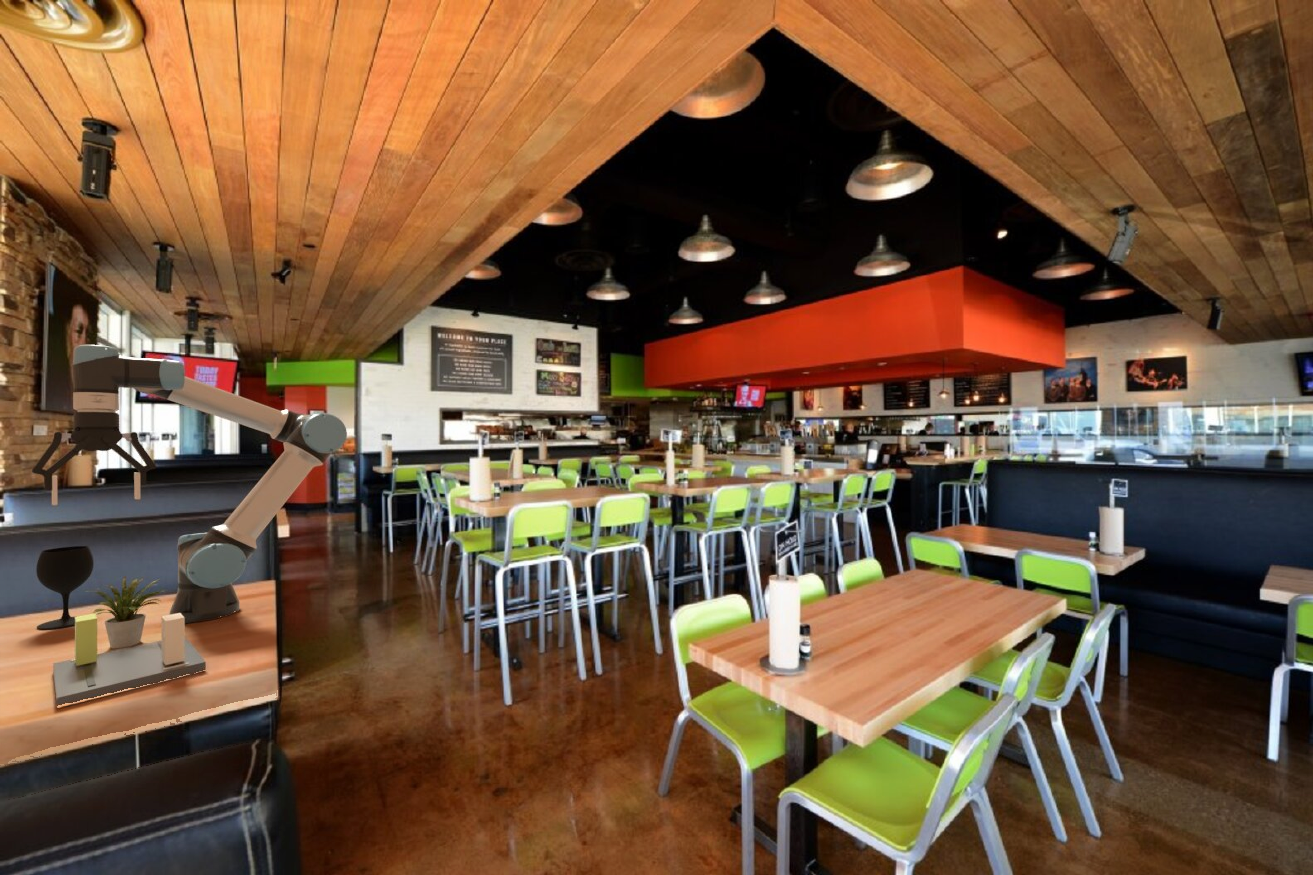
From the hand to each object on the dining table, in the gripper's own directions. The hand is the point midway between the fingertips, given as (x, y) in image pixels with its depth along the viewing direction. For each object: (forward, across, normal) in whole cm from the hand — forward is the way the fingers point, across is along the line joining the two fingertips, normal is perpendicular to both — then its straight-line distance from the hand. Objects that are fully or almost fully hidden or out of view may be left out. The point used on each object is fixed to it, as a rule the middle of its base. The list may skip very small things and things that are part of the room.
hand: (97, 501), depth 128 cm
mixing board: (+34, +2, -24) cm, 42 cm away
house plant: (+35, +4, -2) cm, 35 cm away
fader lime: (+32, -3, -17) cm, 36 cm away
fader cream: (+32, +8, -31) cm, 46 cm away
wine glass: (+35, -4, +33) cm, 48 cm away
